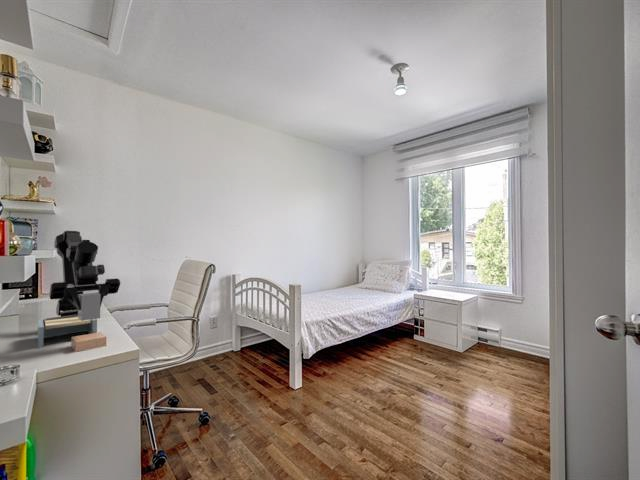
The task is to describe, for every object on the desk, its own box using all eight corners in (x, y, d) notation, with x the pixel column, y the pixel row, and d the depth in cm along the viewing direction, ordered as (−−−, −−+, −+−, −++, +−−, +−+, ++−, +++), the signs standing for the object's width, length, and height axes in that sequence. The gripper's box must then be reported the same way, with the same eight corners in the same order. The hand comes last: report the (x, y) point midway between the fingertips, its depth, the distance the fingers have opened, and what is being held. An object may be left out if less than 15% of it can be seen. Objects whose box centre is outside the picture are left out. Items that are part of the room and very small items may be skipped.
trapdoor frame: (37, 337, 107) (38, 319, 108) (90, 329, 118) (91, 313, 118) (38, 347, 97) (38, 327, 97) (96, 337, 107) (97, 319, 108)
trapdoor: (43, 323, 107) (43, 318, 107) (87, 317, 116) (87, 313, 116) (44, 330, 99) (44, 325, 99) (91, 323, 107) (91, 318, 107)
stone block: (71, 346, 98) (71, 337, 98) (100, 340, 104) (100, 331, 104) (75, 351, 93) (75, 342, 93) (106, 345, 99) (106, 336, 99)
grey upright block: (78, 318, 99) (78, 294, 99) (96, 315, 102) (96, 292, 103) (81, 320, 95) (81, 296, 96) (100, 318, 99) (100, 294, 99)
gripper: (51, 257, 95) (55, 296, 87) (119, 256, 109) (128, 289, 101) (47, 280, 100) (51, 318, 93) (113, 276, 114) (121, 309, 106)
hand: (90, 308), depth 98 cm, fingers closed on grey upright block, 5 cm apart
